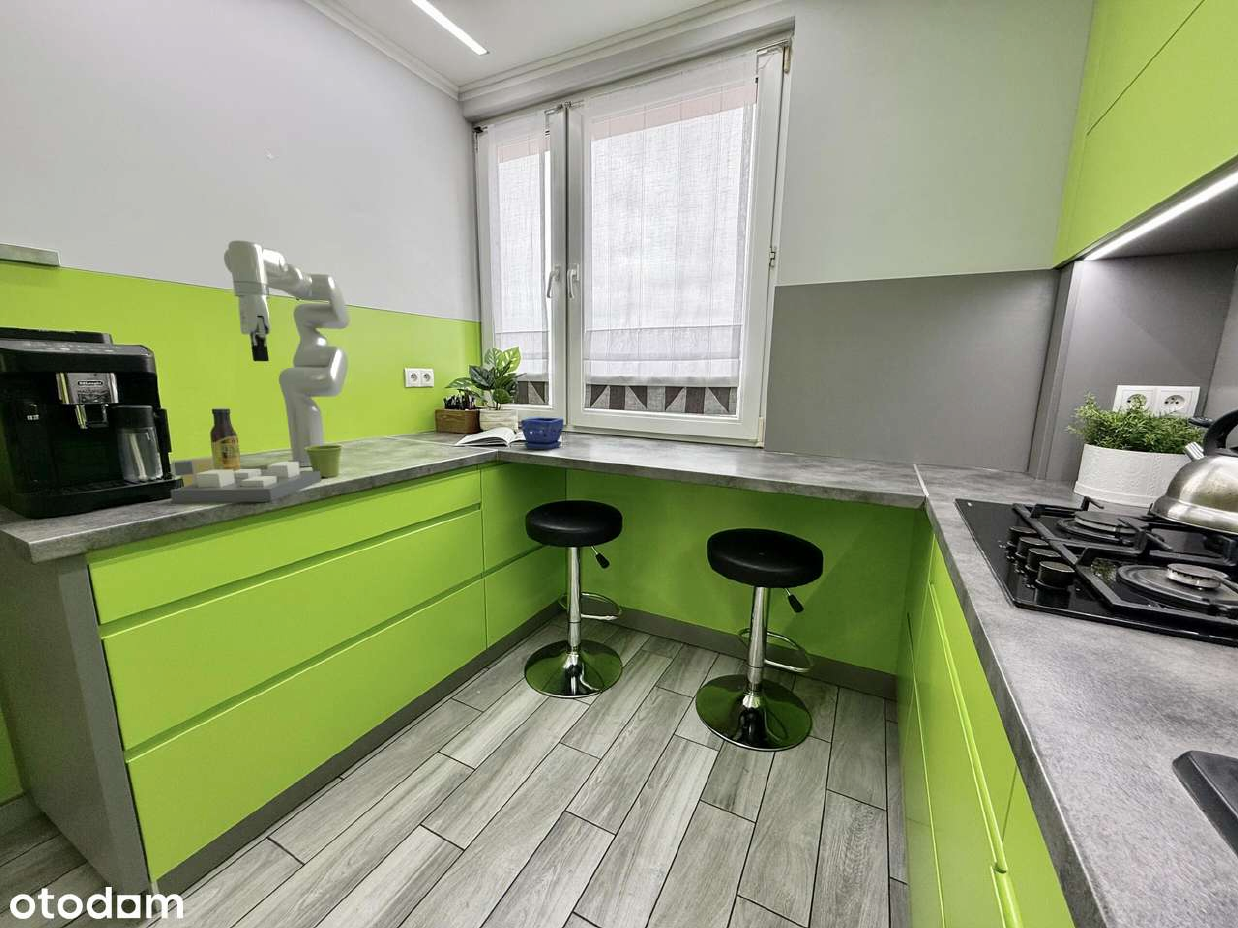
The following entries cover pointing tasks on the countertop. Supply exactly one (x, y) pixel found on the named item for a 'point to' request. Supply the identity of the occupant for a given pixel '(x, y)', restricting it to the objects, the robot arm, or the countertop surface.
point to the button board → (245, 490)
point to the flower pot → (542, 432)
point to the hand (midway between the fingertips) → (261, 361)
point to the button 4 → (283, 469)
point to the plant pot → (325, 459)
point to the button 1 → (215, 478)
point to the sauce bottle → (224, 442)
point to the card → (191, 468)
